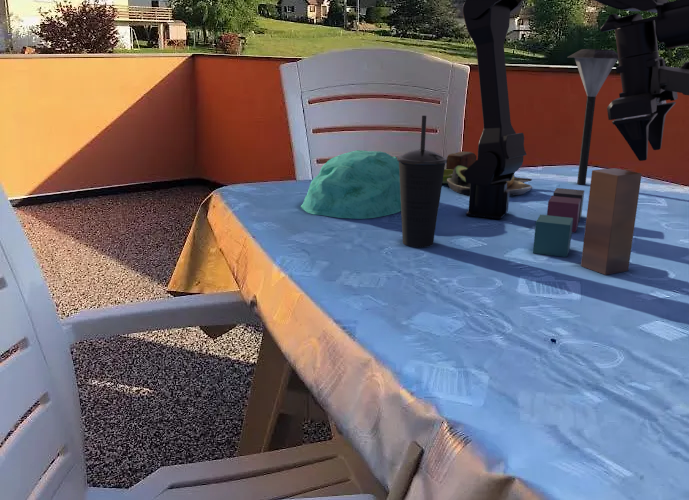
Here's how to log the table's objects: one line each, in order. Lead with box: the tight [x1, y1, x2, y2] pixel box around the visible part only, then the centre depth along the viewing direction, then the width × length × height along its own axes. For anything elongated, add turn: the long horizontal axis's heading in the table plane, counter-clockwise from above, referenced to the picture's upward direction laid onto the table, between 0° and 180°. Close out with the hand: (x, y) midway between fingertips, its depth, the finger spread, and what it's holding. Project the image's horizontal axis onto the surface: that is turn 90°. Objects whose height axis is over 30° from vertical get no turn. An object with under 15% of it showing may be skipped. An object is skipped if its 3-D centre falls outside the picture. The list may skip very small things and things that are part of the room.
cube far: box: [552, 187, 585, 223], centre depth 130 cm, size 5×5×5 cm
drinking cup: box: [396, 115, 447, 248], centre depth 109 cm, size 8×8×20 cm
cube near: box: [532, 214, 573, 258], centre depth 109 cm, size 5×5×5 cm
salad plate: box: [447, 165, 533, 197], centre depth 156 cm, size 19×18×5 cm
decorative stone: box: [300, 149, 401, 220], centre depth 139 cm, size 21×27×10 cm
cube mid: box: [546, 195, 581, 233], centre depth 123 cm, size 5×5×5 cm
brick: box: [445, 150, 477, 170], centre depth 176 cm, size 11×4×5 cm, turn 149°
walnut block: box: [580, 167, 643, 276], centre depth 99 cm, size 5×5×14 cm
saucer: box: [442, 168, 453, 185], centre depth 163 cm, size 9×9×2 cm
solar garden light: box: [567, 48, 622, 186], centre depth 160 cm, size 12×12×30 cm
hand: (650, 154), depth 112 cm, fingers open, 9 cm apart
